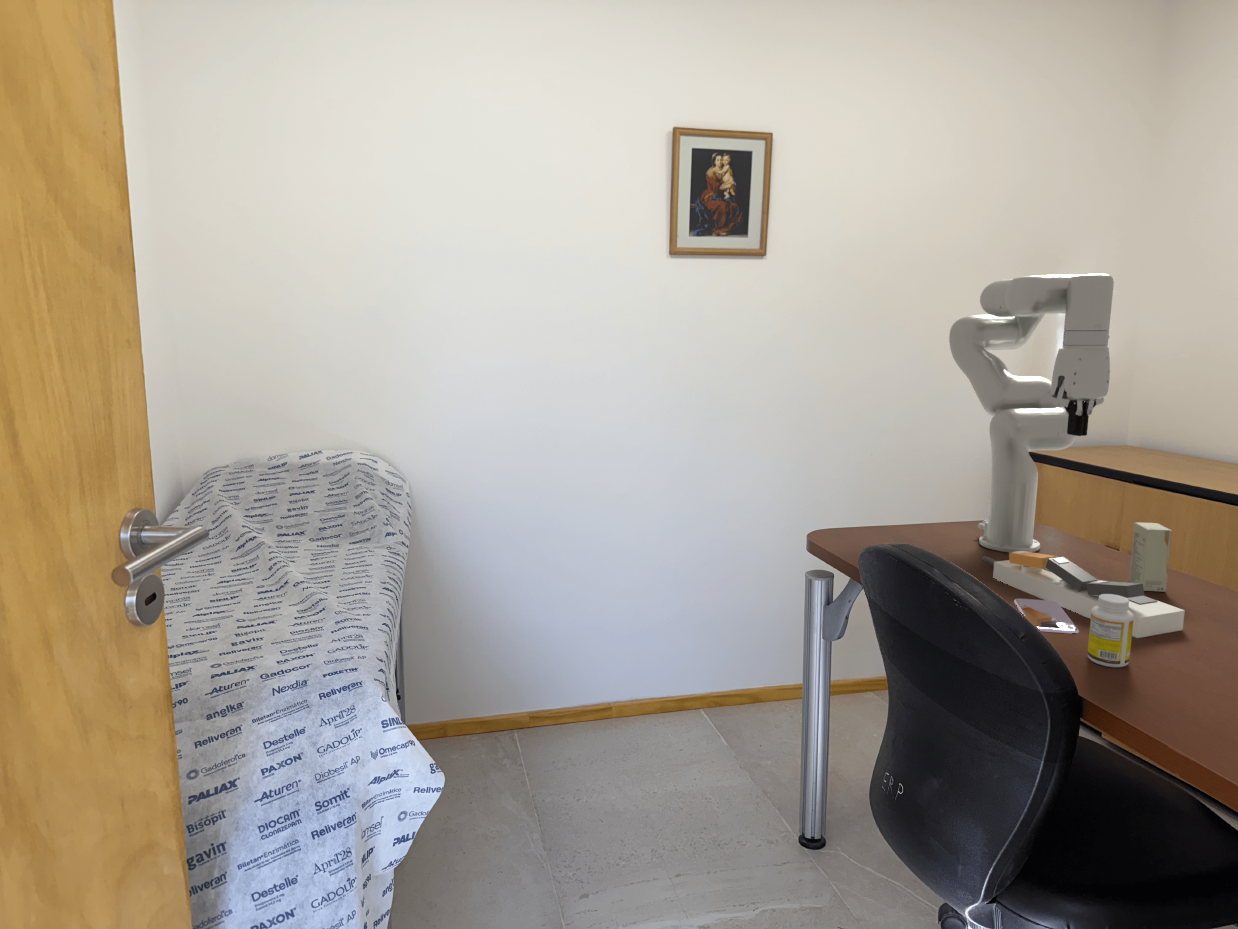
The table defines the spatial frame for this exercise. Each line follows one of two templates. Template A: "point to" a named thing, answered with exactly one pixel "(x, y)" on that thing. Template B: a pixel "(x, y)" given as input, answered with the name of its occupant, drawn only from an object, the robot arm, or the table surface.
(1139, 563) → the skincare box
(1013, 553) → the rocker
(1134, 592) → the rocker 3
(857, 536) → the table surface
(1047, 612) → the mobile phone
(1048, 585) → the power strip
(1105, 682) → the table surface
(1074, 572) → the block
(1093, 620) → the supplement bottle
